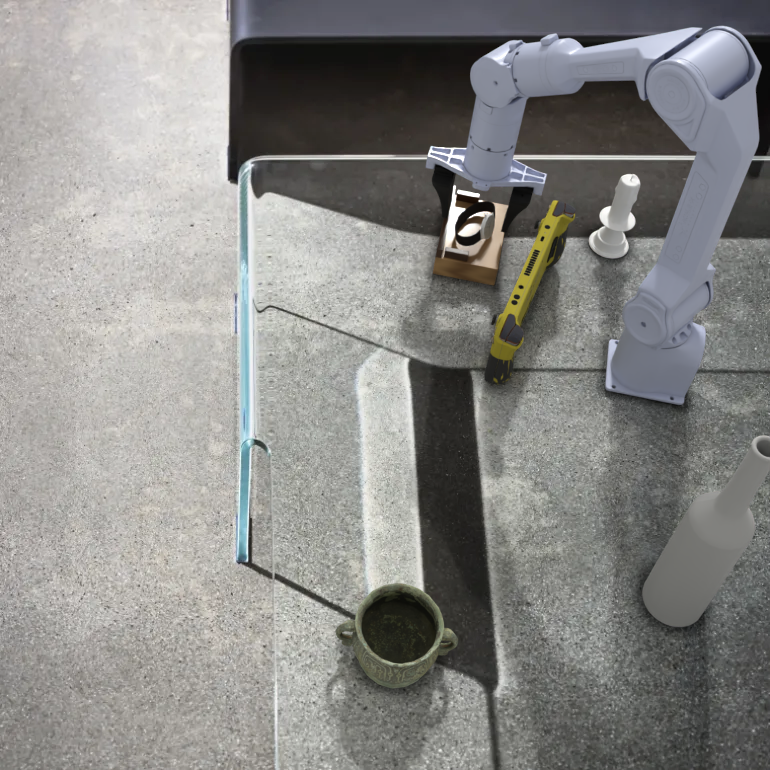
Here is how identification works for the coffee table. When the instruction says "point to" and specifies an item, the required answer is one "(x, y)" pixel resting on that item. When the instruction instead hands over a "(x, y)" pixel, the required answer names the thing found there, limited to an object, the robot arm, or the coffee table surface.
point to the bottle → (706, 544)
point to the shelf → (477, 258)
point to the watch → (486, 224)
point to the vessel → (397, 635)
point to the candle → (616, 220)
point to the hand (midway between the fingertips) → (475, 219)
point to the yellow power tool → (527, 291)
